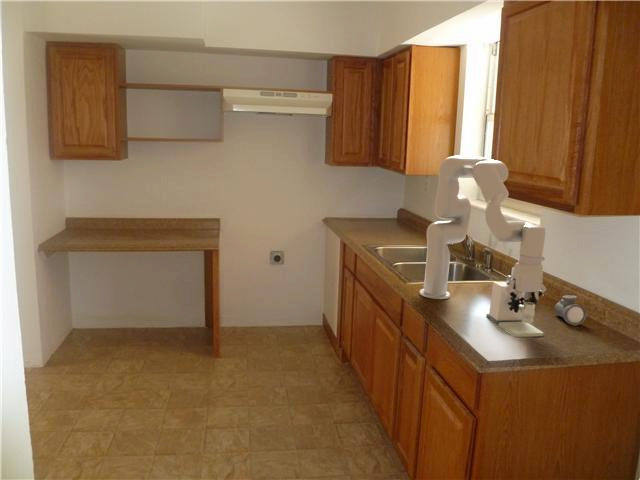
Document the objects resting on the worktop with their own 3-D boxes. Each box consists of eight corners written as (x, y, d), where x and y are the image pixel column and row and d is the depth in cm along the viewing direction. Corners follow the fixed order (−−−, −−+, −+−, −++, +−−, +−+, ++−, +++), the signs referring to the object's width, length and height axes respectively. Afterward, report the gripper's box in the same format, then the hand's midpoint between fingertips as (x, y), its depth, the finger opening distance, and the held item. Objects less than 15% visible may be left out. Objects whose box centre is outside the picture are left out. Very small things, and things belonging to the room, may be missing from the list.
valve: (539, 323, 192) (523, 312, 204) (541, 305, 191) (526, 295, 203) (520, 323, 192) (506, 311, 203) (523, 305, 190) (508, 294, 202)
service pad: (498, 325, 204) (498, 322, 203) (525, 324, 206) (525, 321, 206) (515, 336, 193) (515, 333, 193) (543, 335, 195) (543, 332, 195)
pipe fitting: (587, 325, 208) (587, 298, 207) (565, 326, 207) (566, 299, 206) (570, 317, 219) (571, 292, 218) (550, 318, 219) (550, 293, 218)
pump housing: (486, 317, 212) (491, 273, 209) (512, 316, 214) (517, 273, 211) (497, 324, 204) (502, 279, 201) (523, 323, 207) (530, 279, 203)
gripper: (545, 257, 200) (538, 305, 203) (501, 257, 196) (495, 306, 199) (558, 262, 192) (551, 312, 196) (513, 262, 189) (507, 313, 192)
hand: (523, 309), depth 198 cm, fingers closed on valve, 5 cm apart
